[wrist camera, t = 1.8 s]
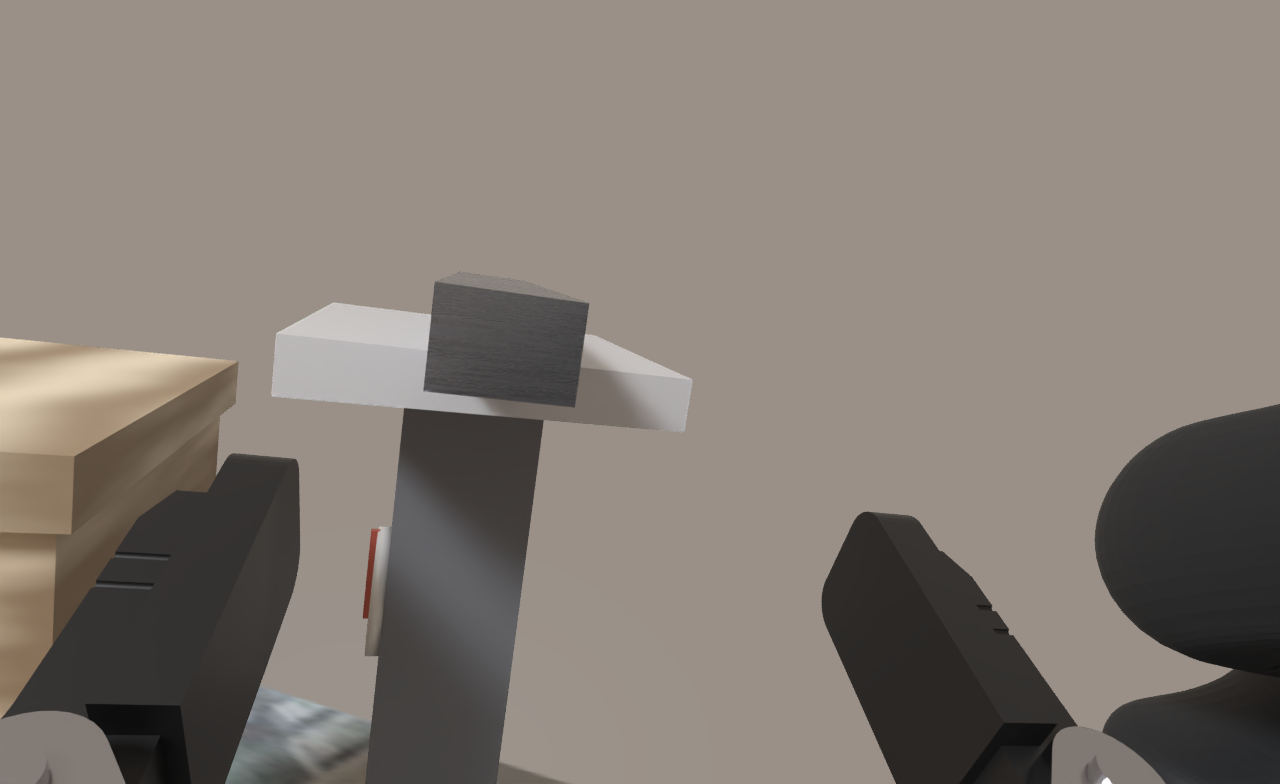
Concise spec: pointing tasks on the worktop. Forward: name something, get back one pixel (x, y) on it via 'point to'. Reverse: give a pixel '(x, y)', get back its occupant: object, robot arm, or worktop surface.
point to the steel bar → (504, 340)
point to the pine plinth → (79, 561)
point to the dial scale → (452, 525)
